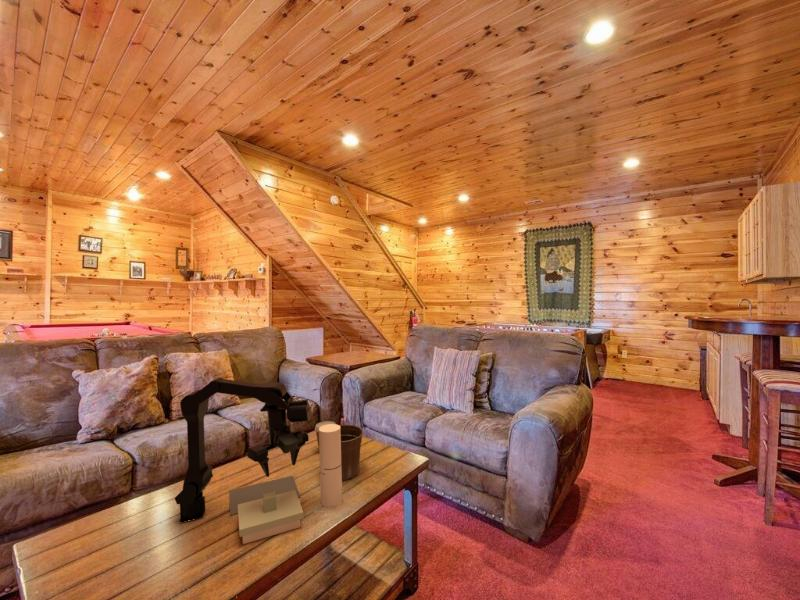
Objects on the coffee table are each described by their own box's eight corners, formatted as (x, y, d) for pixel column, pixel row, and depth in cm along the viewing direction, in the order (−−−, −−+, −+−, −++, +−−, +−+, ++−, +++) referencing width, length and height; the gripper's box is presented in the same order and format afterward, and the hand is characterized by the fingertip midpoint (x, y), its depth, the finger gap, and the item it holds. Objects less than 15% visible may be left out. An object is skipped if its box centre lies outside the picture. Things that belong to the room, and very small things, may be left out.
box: (242, 544, 103) (242, 530, 103) (241, 520, 114) (240, 507, 114) (300, 527, 110) (300, 514, 110) (293, 506, 121) (293, 494, 121)
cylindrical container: (337, 508, 119) (335, 432, 119) (317, 506, 121) (315, 431, 120) (345, 496, 126) (343, 424, 126) (325, 494, 128) (324, 423, 127)
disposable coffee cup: (339, 447, 166) (339, 420, 165) (334, 456, 156) (333, 429, 156) (319, 446, 167) (318, 420, 166) (312, 456, 157) (311, 428, 157)
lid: (239, 537, 102) (238, 516, 102) (237, 510, 115) (237, 492, 114) (303, 518, 110) (302, 499, 110) (295, 495, 122) (294, 478, 122)
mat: (230, 515, 117) (230, 514, 117) (229, 491, 131) (229, 490, 131) (300, 497, 126) (300, 496, 126) (292, 476, 140) (292, 475, 140)
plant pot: (361, 484, 134) (360, 441, 133) (317, 484, 134) (316, 441, 133) (366, 463, 150) (365, 424, 149) (327, 463, 150) (326, 424, 150)
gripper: (262, 439, 105) (266, 492, 106) (316, 419, 119) (319, 466, 120) (244, 430, 113) (248, 480, 114) (297, 412, 127) (300, 456, 127)
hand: (281, 470), depth 118 cm, fingers open, 9 cm apart
